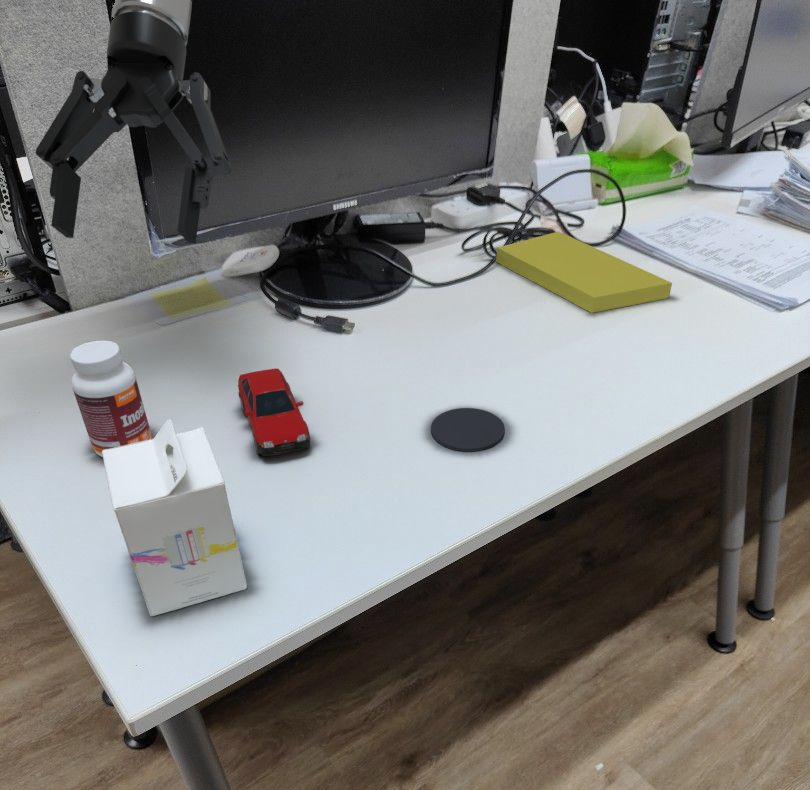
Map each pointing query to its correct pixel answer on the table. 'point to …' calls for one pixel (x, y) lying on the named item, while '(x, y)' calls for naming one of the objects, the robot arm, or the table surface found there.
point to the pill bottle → (108, 396)
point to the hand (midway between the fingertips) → (123, 235)
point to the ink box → (175, 518)
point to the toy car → (272, 413)
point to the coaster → (467, 429)
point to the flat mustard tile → (582, 273)
